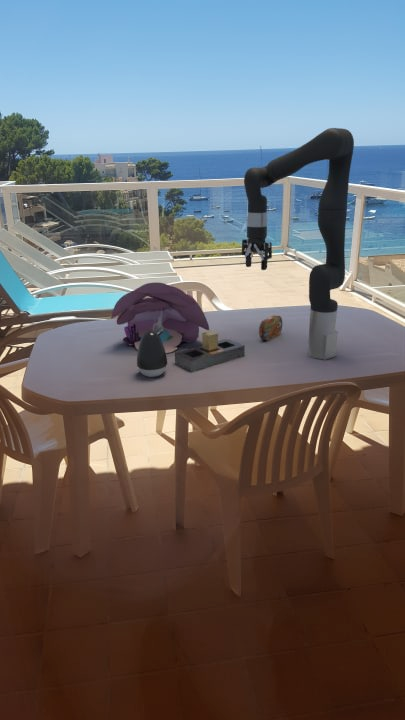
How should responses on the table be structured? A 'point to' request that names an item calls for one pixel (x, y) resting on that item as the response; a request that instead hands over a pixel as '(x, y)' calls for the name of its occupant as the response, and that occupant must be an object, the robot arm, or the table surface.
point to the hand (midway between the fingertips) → (256, 268)
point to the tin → (270, 328)
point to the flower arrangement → (160, 315)
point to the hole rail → (209, 355)
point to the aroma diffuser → (151, 354)
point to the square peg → (209, 341)
